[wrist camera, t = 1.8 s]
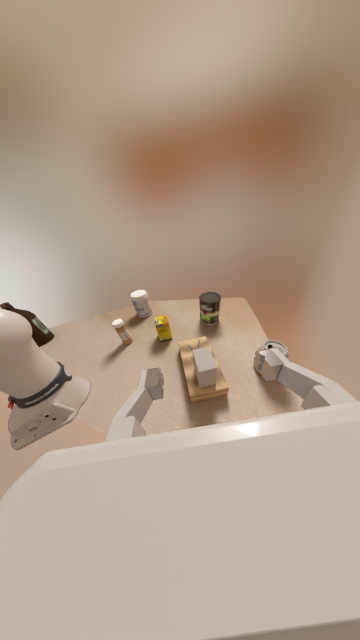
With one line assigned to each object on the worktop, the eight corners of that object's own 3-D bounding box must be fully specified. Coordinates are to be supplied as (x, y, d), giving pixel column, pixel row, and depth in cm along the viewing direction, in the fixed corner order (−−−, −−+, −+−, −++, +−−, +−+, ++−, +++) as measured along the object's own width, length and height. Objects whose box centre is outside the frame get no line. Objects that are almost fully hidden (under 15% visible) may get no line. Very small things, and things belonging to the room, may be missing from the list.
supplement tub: (136, 318, 82) (127, 298, 73) (140, 310, 89) (132, 290, 80) (150, 317, 81) (143, 296, 71) (154, 309, 88) (148, 288, 79)
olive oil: (32, 350, 71) (-18, 313, 55) (34, 340, 78) (-9, 304, 62) (55, 340, 75) (15, 303, 60) (55, 331, 82) (20, 296, 67)
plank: (227, 394, 42) (228, 387, 39) (191, 403, 41) (189, 396, 38) (205, 343, 59) (205, 336, 56) (179, 349, 59) (178, 341, 56)
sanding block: (215, 385, 40) (217, 367, 34) (200, 388, 40) (198, 372, 33) (208, 365, 45) (208, 346, 39) (194, 368, 45) (192, 350, 39)
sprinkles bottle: (130, 337, 69) (119, 317, 61) (134, 341, 66) (123, 321, 58) (122, 342, 67) (110, 322, 58) (126, 346, 64) (113, 326, 56)
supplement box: (172, 339, 64) (168, 322, 57) (160, 342, 64) (154, 325, 57) (170, 331, 69) (166, 314, 62) (159, 334, 68) (154, 317, 61)
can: (251, 358, 51) (259, 336, 43) (273, 361, 49) (286, 339, 41) (254, 376, 45) (264, 355, 38) (280, 380, 43) (295, 359, 36)
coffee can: (213, 328, 67) (214, 304, 58) (196, 321, 72) (195, 299, 63) (222, 317, 72) (224, 294, 64) (205, 311, 78) (205, 290, 69)
